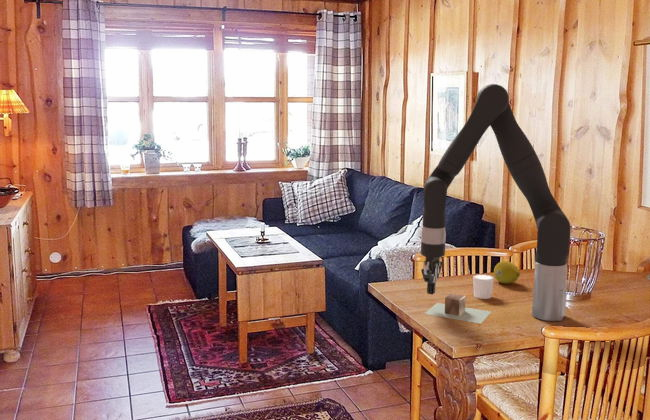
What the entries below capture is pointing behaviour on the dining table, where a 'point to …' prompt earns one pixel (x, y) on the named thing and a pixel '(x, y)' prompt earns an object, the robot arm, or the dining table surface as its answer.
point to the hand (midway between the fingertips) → (431, 293)
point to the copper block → (455, 304)
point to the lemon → (506, 272)
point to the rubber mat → (468, 315)
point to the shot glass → (483, 286)
